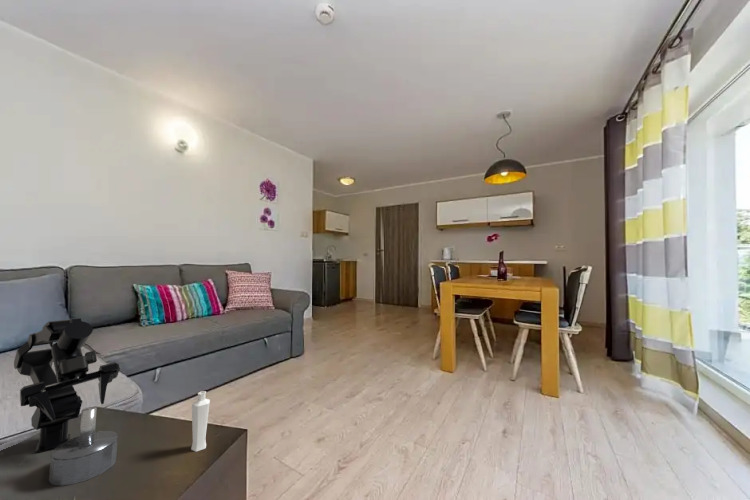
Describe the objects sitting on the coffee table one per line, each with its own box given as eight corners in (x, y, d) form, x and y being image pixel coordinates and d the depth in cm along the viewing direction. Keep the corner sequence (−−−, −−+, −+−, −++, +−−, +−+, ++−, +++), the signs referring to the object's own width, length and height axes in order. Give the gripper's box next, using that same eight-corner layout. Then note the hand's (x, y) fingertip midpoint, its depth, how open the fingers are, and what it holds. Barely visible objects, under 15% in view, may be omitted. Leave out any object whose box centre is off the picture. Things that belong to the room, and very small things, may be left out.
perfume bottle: (200, 453, 83) (203, 396, 84) (186, 451, 83) (189, 395, 84) (212, 444, 87) (215, 390, 88) (199, 442, 88) (202, 388, 89)
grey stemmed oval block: (71, 457, 80) (75, 401, 81) (125, 451, 83) (129, 396, 84) (35, 489, 68) (40, 423, 69) (99, 480, 72) (104, 417, 73)
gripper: (17, 355, 73) (26, 417, 67) (116, 334, 88) (130, 383, 82) (16, 377, 78) (24, 435, 73) (110, 353, 93) (122, 400, 88)
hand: (79, 411), depth 79 cm, fingers open, 9 cm apart
